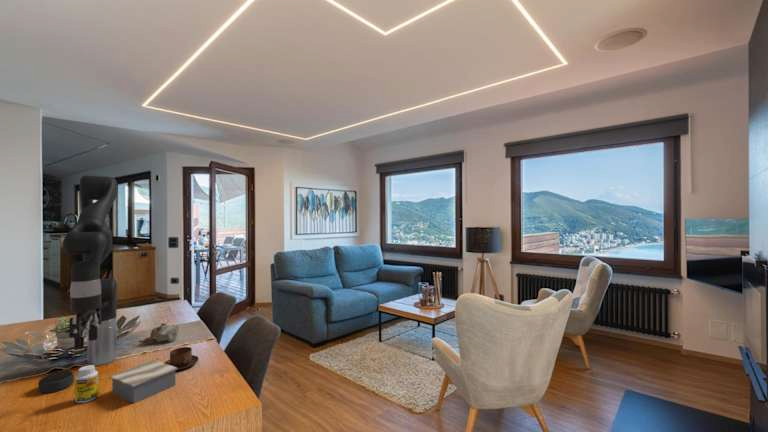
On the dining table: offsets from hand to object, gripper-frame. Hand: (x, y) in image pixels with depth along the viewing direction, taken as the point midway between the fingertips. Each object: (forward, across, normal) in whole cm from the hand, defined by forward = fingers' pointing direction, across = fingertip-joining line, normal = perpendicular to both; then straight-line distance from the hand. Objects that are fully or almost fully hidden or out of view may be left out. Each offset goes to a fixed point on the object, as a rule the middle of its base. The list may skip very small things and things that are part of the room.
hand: (86, 344), depth 111 cm
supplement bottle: (+18, 0, 0) cm, 18 cm away
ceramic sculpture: (+18, +51, -7) cm, 55 cm away
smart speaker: (+18, +13, +14) cm, 26 cm away
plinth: (+18, +2, -15) cm, 24 cm away
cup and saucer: (+18, +18, -22) cm, 34 cm away
